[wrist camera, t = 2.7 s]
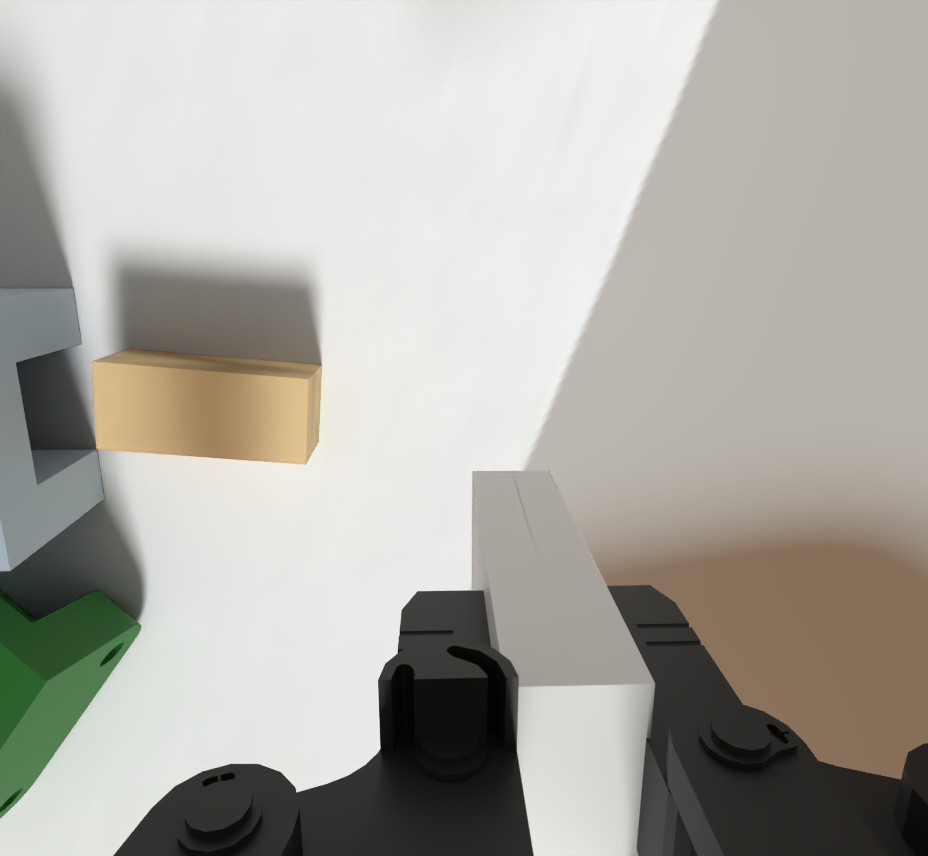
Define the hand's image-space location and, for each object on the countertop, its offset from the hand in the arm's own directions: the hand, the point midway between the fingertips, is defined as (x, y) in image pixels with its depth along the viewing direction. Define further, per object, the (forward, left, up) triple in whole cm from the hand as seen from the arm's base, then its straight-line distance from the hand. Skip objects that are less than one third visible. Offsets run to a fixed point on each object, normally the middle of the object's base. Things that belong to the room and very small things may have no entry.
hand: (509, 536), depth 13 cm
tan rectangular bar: (-9, 0, -13) cm, 16 cm away
